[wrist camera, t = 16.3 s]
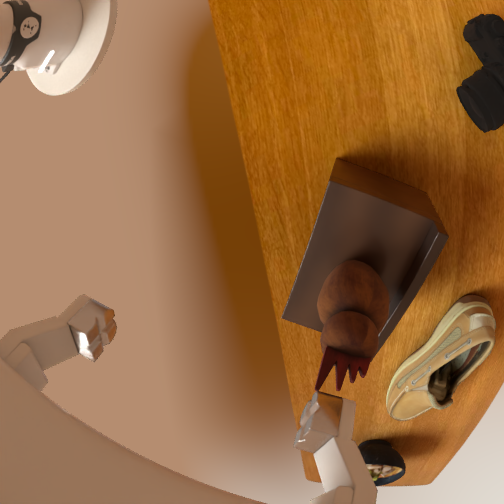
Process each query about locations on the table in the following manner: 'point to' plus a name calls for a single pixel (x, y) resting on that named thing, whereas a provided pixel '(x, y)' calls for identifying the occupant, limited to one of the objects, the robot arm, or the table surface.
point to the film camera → (485, 73)
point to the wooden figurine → (351, 320)
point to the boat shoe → (443, 360)
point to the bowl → (382, 461)
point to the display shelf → (368, 241)
